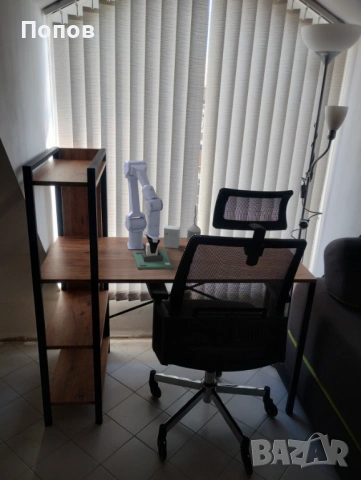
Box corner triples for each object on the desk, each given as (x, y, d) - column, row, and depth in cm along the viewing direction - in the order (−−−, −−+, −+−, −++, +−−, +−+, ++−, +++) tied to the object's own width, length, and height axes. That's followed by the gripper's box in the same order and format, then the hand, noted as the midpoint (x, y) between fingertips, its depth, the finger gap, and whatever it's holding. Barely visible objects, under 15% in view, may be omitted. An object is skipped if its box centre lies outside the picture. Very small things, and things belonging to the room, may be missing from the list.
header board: (133, 252, 196) (133, 246, 195) (164, 251, 200) (165, 245, 199) (137, 269, 178) (137, 262, 177) (172, 267, 181) (172, 260, 180)
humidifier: (185, 249, 205) (189, 202, 197) (201, 250, 204) (205, 204, 196) (183, 254, 198) (186, 206, 189) (199, 256, 197) (203, 208, 188)
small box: (179, 245, 210) (180, 226, 207) (178, 248, 205) (179, 229, 202) (164, 243, 211) (165, 224, 208) (163, 247, 206) (163, 228, 202)
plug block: (145, 253, 189) (146, 242, 187) (156, 253, 190) (156, 242, 188) (146, 256, 185) (147, 245, 184) (157, 256, 187) (158, 245, 185)
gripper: (142, 219, 189) (142, 246, 193) (147, 229, 175) (146, 257, 180) (157, 219, 190) (156, 245, 195) (162, 229, 177) (161, 257, 181)
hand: (152, 251), depth 187 cm, fingers closed on plug block, 4 cm apart
